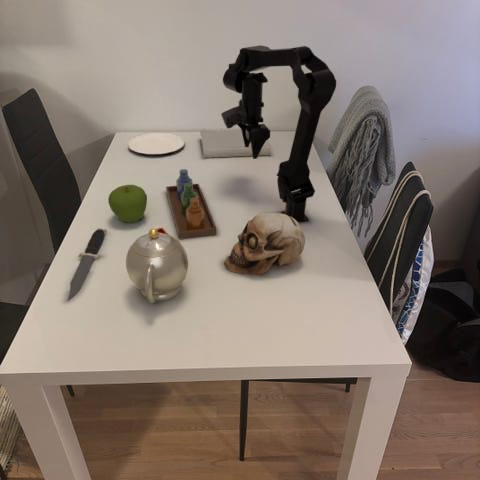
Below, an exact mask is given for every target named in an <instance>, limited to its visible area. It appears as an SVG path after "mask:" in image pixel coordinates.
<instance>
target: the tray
mask: <svg viewBox="0 0 480 480" xmlns="http://www.w3.org/2000/svg"><path fill="white" fill-rule="evenodd" d="M193 190H194V191H195V192H196V193H197V194H198V200H199V205H200V207H201V208H203V209H204V227H205V228H204V229H195V230H187V220H186V216H185V215H183V214H182V205H181V200H179V199H178V197H177V185H168V186H165V191H166V196H167V200H168V203H169V207H170V210H171V215H172V217H173V221H174V225H175V228H176V232H177V236H178V239H179V240H183V239H192V238H193V239H195V238H199V237H200V238H201V237H210V236H216V235H217V234H218V232H217V231H218V230H217V226H216V223H215V221H214V218H213V216H212V213H211V211H210V209H209V206H208V203H207V201H206V199H205V196H204V193H203V191H202V188H201V186H200V184H199V183H193Z"/></svg>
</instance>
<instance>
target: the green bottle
mask: <svg viewBox="0 0 480 480" xmlns="http://www.w3.org/2000/svg"><path fill="white" fill-rule="evenodd" d="M193 184H194V183H193ZM193 184H192V183H186V184H184V188H185V190H184V191H183V193H181V205H182V214H183V215H185V216H186V209H187V208H189V206H190V199H192V198H197V199H198V194H197V193H196V192H195V191H194V190H193Z"/></svg>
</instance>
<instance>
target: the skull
mask: <svg viewBox="0 0 480 480" xmlns="http://www.w3.org/2000/svg"><path fill="white" fill-rule="evenodd" d="M299 223H300V222H297V221H296V220H295V219H294V218H292V217H290V216H287V215H285V214H281V212H262V213H261V212H260V213H258V214H255V216H254V217H253V218H252V219H249V220H248V221H247V223H246V225H245V226H244V228H243V230H242V232H241V233H240V234H238V235H237V239H238V241H237V242H236V243H235V244H234V245H233V247H232V248H231V251H230V254H229V255H228V256H227V257H226V258H225V259H224V262H223V263H224V266H225V268H226V269H227V270H229V271H231V272H233V273H238V274H247V275H257V276H262V275H263V274H265V273H266V272H267V271H268V269H269V268H270V267H271V266H278V267H279V266H280V267H287V266H289V265H290V264H292V263H294V262H296V260H297V259H298V258H299V257H300V256H301V254H303V252H304V249H305V245H306V236H305V234H304V233H305V232H304V230H303V228H302V226H301V225H300V224H299Z"/></svg>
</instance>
